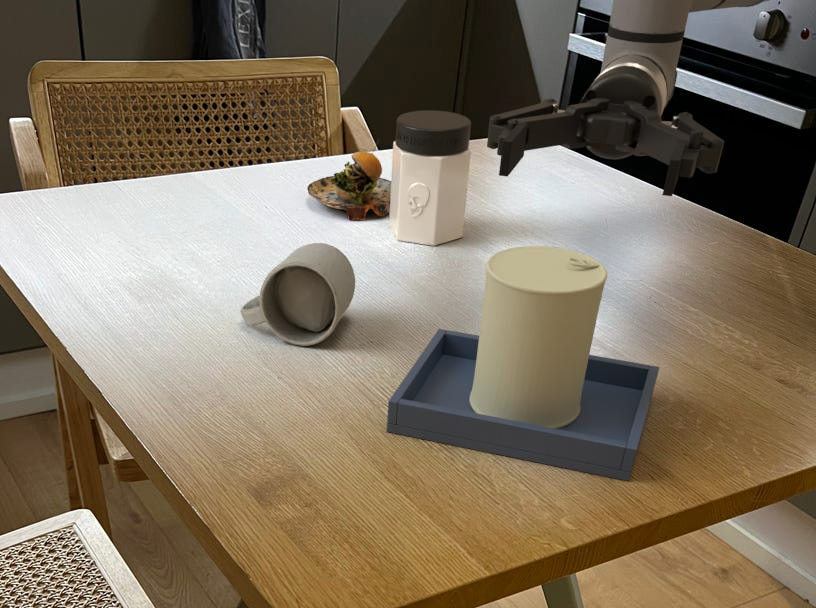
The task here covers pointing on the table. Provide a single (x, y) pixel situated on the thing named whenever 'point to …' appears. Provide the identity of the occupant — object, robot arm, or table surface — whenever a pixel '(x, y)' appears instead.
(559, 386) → the can
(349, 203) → the burger
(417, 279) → the table surface
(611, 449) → the tray
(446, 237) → the jar
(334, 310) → the ceramic mug
